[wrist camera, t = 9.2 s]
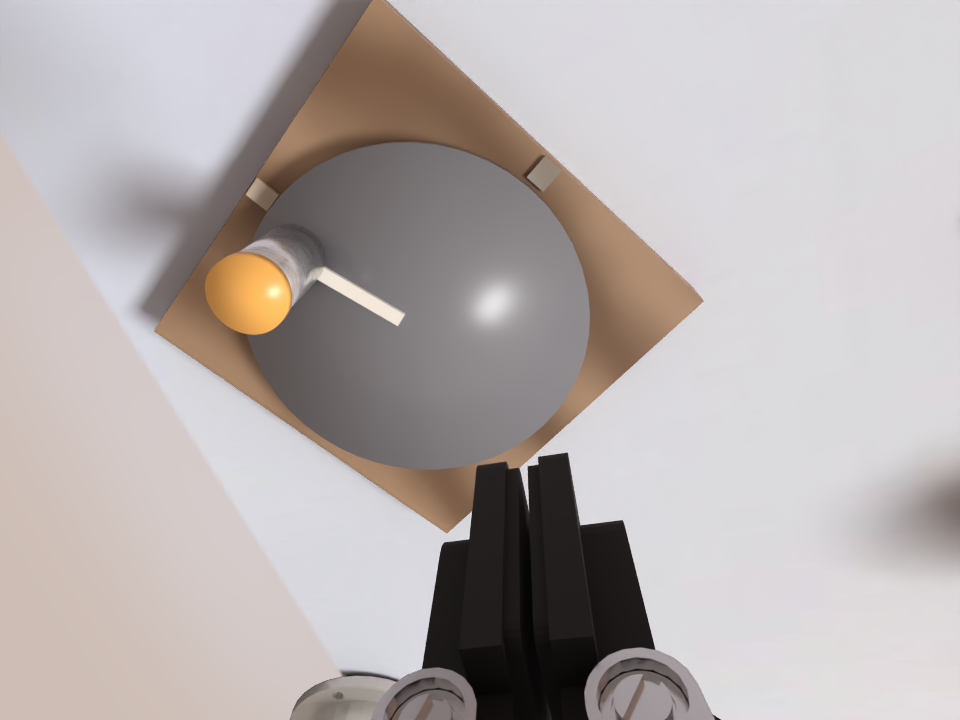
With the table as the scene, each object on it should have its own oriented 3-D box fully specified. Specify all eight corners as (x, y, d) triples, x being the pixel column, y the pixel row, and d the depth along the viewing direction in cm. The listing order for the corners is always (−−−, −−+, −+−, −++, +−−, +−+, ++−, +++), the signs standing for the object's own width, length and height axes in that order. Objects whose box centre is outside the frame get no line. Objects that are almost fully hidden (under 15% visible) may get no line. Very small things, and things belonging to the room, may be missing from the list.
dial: (659, 270, 29) (696, 322, 23) (472, 506, 36) (463, 594, 30) (340, 59, 26) (287, 57, 20) (201, 362, 32) (130, 428, 26)
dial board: (450, 512, 39) (446, 535, 37) (173, 317, 34) (151, 332, 32) (693, 287, 32) (705, 302, 30) (385, -1, 27) (374, -6, 25)
